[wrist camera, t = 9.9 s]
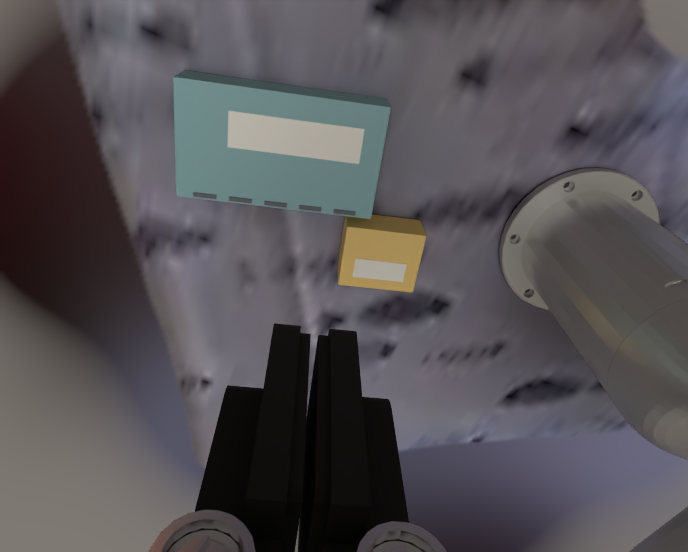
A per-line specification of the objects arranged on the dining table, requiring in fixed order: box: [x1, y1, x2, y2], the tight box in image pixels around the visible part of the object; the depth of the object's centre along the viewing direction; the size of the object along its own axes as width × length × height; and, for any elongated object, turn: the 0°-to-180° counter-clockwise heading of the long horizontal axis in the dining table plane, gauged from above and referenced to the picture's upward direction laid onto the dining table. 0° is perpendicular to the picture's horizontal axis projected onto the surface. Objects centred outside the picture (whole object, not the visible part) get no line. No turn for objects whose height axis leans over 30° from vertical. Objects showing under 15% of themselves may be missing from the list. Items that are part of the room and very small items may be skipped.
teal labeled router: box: [173, 70, 391, 219], centre depth 36 cm, size 14×8×3 cm, turn 82°
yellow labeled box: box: [338, 214, 426, 292], centre depth 40 cm, size 6×5×3 cm
